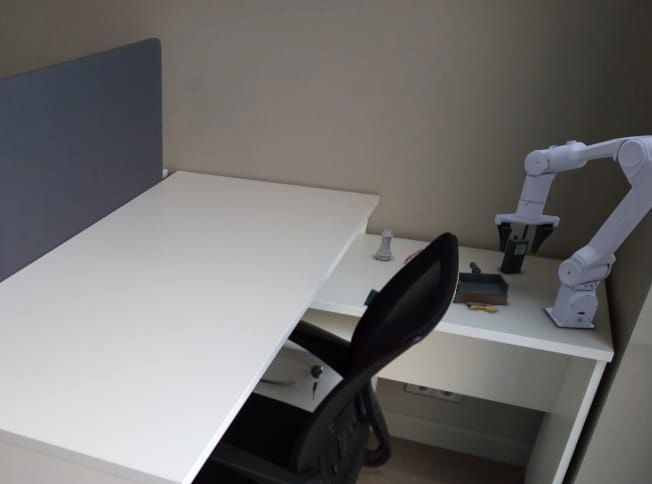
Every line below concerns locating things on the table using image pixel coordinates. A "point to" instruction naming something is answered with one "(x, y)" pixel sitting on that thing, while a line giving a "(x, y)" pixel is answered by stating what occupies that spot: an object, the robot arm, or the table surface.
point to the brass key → (487, 308)
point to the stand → (480, 298)
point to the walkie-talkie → (515, 253)
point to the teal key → (478, 304)
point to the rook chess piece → (385, 246)
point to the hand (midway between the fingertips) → (517, 251)
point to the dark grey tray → (481, 282)
